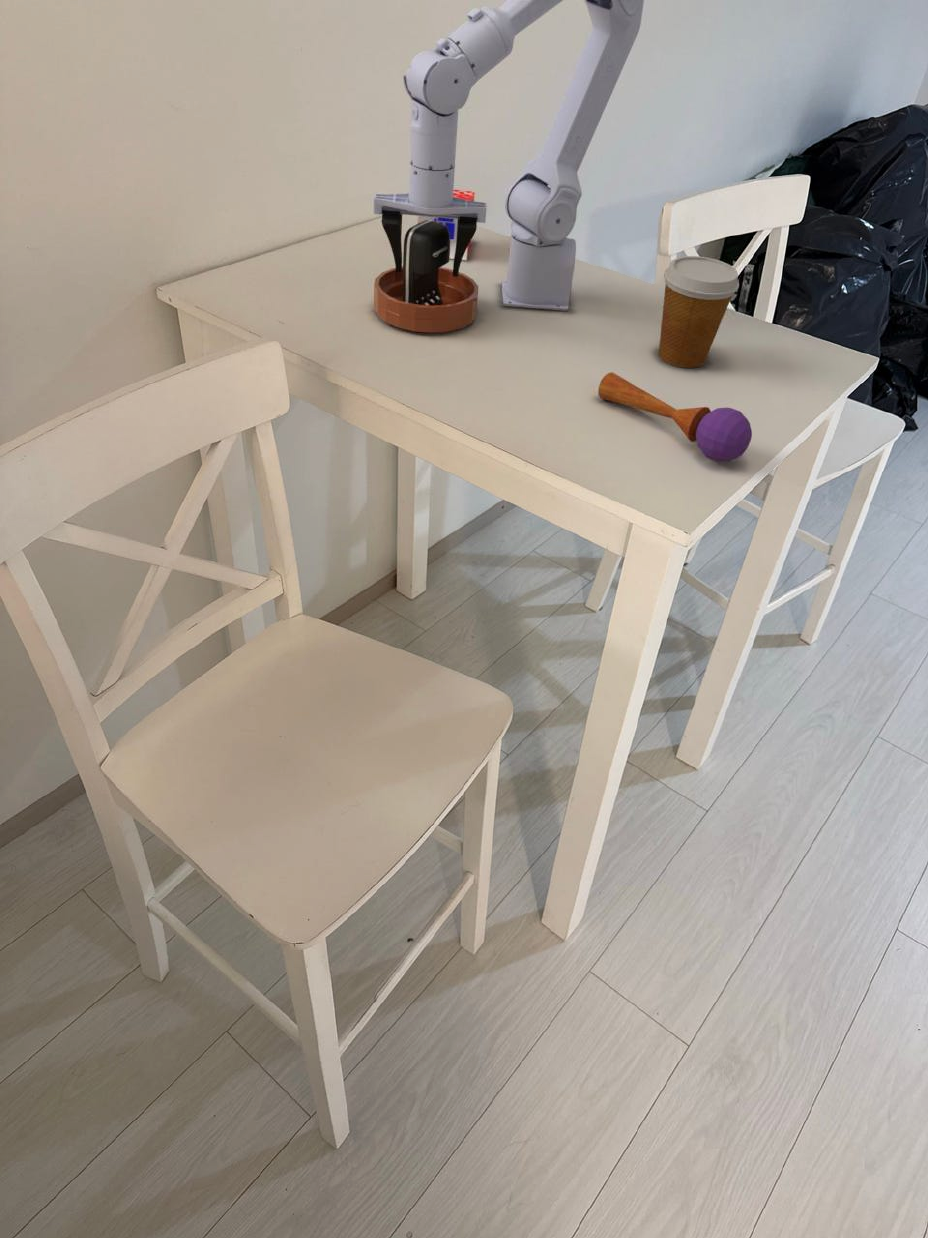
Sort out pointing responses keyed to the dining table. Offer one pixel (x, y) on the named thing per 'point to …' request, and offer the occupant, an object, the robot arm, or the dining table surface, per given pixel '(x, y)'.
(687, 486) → the dining table surface
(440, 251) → the battery charger
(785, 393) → the dining table surface
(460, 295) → the bowl
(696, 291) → the disposable coffee cup
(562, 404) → the dining table surface
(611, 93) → the robot arm
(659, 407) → the kendama
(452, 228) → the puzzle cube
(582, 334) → the dining table surface
